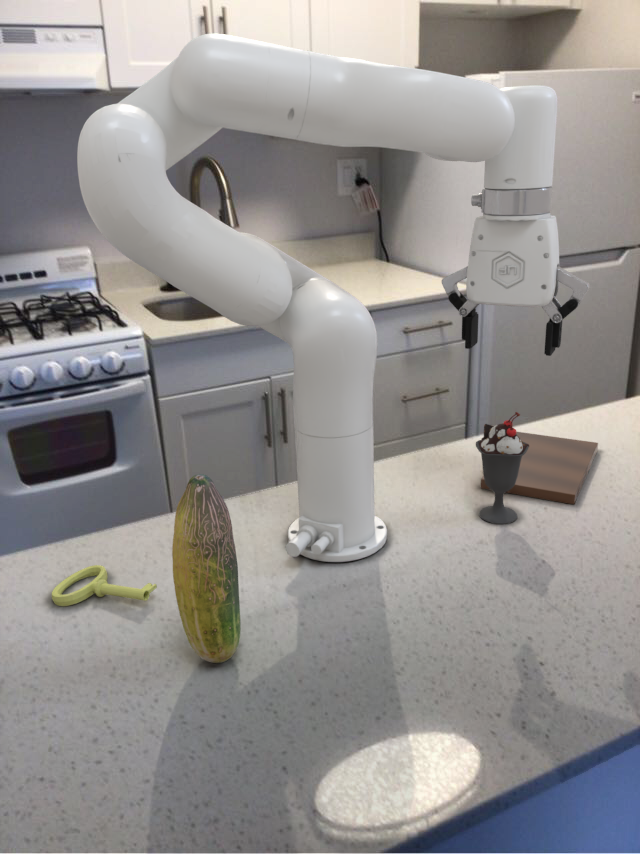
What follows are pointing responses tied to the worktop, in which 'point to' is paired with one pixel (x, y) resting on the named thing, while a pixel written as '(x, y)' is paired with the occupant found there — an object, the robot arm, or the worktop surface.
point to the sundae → (500, 467)
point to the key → (96, 588)
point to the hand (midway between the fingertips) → (509, 349)
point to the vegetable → (206, 571)
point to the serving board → (552, 467)
